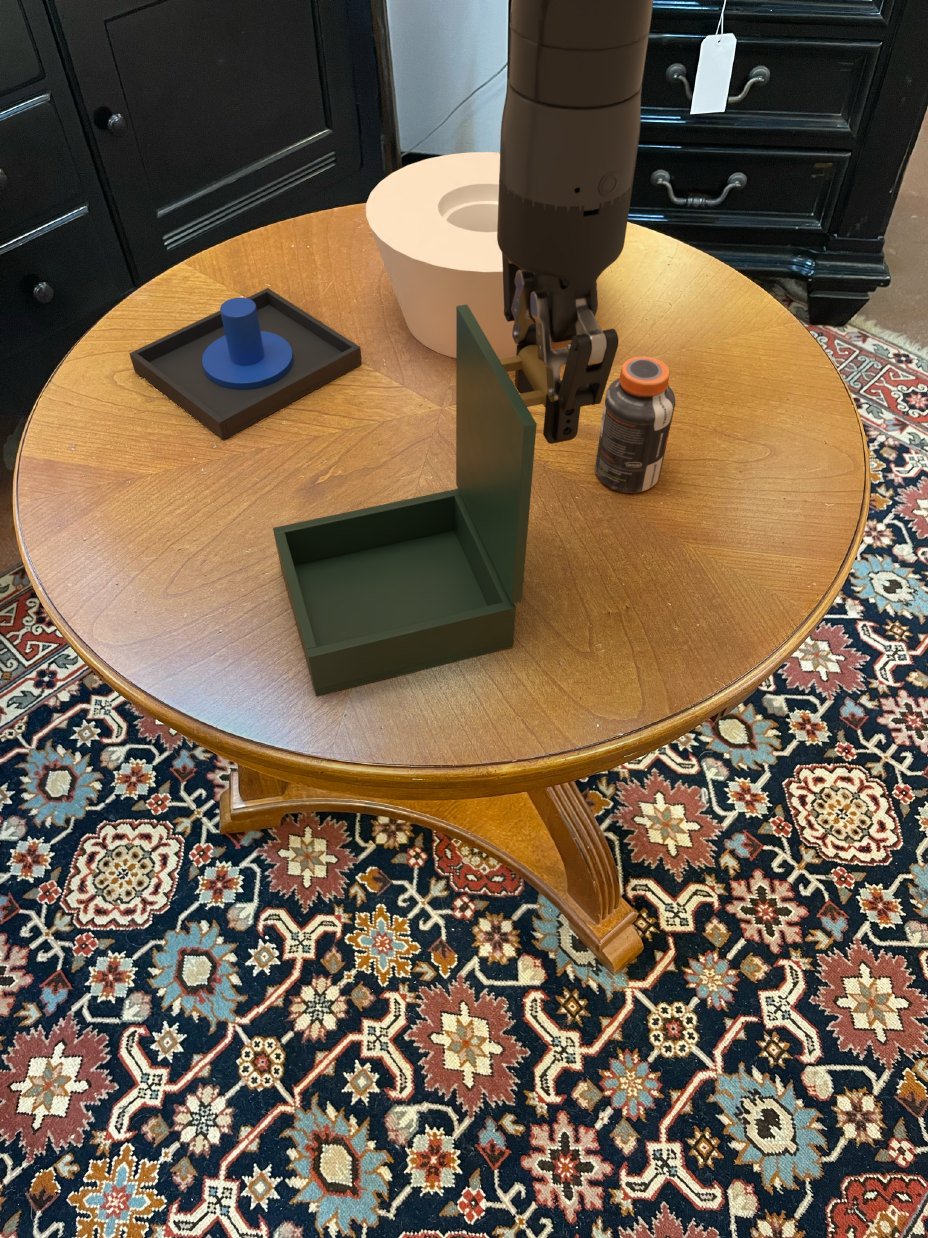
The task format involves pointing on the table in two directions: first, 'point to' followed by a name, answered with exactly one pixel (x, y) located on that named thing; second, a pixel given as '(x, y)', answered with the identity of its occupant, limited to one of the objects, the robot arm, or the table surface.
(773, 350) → the table surface
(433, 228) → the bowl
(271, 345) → the blue lid
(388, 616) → the green chest
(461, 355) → the chest lid
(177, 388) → the tray
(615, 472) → the pill bottle
